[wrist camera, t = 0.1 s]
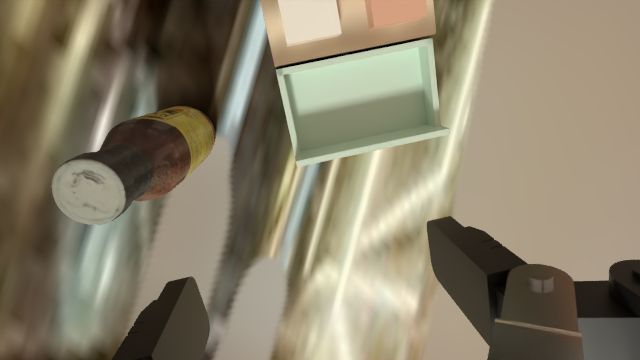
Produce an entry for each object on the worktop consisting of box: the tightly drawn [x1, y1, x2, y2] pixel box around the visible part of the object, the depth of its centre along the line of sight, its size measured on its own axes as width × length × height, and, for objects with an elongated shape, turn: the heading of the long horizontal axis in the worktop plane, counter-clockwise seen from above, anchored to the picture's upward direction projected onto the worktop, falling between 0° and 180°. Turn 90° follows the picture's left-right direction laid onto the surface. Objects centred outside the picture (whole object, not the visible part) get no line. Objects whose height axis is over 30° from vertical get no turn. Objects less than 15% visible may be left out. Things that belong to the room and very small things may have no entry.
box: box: [276, 38, 450, 167], centre depth 37 cm, size 10×16×5 cm, turn 101°
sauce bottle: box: [51, 106, 216, 225], centre depth 29 cm, size 7×6×20 cm
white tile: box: [277, 0, 342, 46], centre depth 32 cm, size 5×5×2 cm
